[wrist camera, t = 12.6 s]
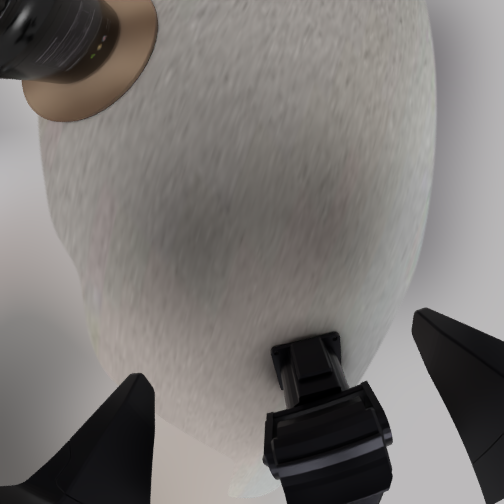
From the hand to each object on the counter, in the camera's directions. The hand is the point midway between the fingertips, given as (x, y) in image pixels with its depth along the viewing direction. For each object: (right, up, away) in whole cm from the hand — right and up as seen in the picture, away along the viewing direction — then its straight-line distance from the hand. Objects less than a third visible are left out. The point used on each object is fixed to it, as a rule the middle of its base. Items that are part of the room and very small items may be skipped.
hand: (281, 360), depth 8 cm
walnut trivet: (-13, +18, +5) cm, 23 cm away
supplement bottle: (-13, +18, +5) cm, 23 cm away
